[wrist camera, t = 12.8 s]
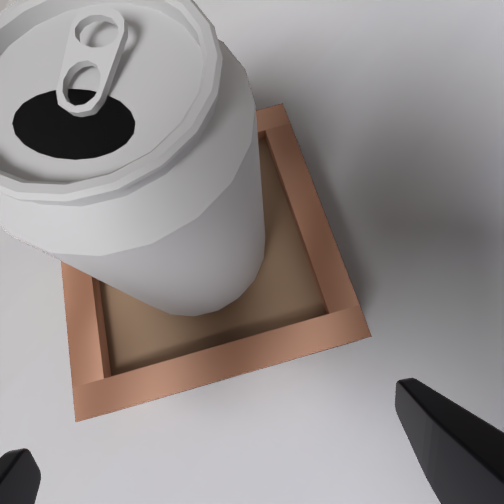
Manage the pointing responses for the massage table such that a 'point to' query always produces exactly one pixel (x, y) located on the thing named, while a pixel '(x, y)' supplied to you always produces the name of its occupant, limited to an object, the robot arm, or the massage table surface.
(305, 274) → the square wooden tray
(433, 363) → the massage table surface
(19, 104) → the can
